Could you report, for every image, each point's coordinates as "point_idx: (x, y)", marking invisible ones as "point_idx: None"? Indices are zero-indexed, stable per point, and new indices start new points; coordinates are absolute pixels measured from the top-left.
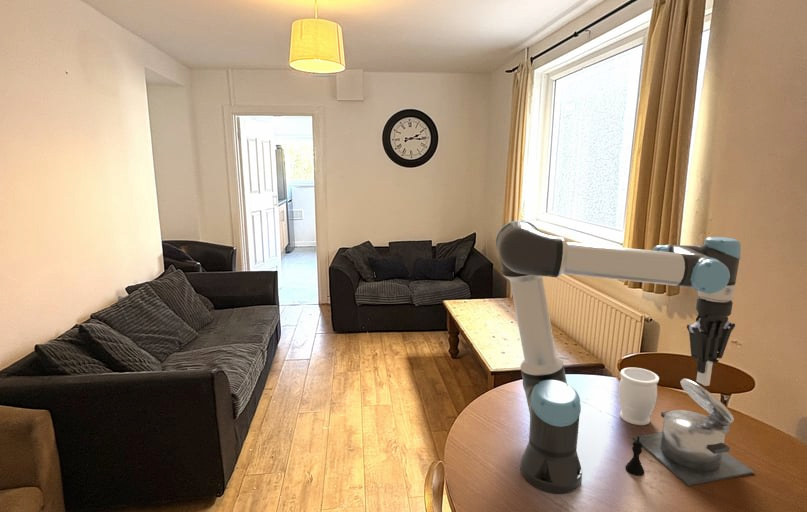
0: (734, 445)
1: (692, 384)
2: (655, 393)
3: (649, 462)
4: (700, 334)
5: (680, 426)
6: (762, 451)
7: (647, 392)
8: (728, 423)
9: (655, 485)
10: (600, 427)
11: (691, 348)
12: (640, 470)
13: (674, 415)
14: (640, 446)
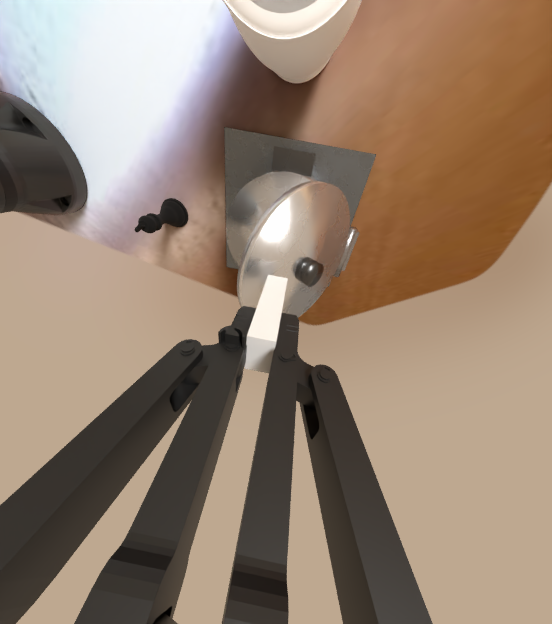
0: (385, 234)
1: (238, 281)
2: (310, 56)
3: (209, 207)
4: (29, 604)
5: (245, 234)
6: (403, 263)
7: (267, 50)
8: (335, 276)
9: (187, 248)
10: (176, 31)
11: (133, 390)
12: (174, 225)
13: (270, 194)
14: (148, 232)
